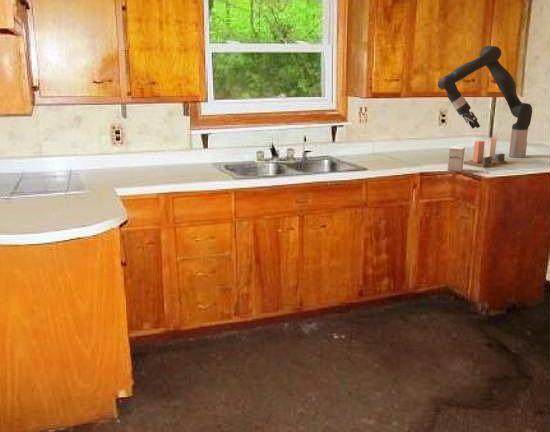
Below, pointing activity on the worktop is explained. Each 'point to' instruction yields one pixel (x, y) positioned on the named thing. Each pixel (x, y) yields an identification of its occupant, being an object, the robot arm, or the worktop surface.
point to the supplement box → (456, 158)
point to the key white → (491, 148)
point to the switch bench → (489, 161)
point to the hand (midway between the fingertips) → (476, 127)
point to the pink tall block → (478, 151)
